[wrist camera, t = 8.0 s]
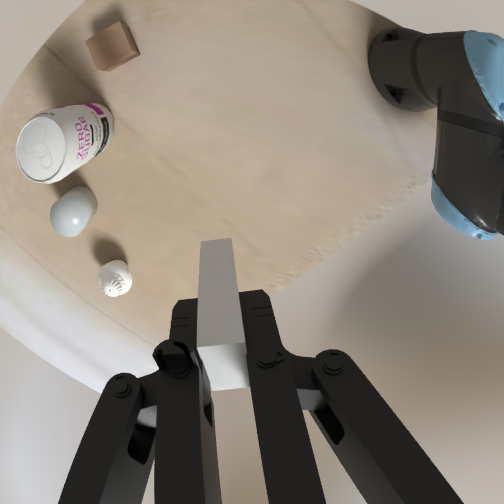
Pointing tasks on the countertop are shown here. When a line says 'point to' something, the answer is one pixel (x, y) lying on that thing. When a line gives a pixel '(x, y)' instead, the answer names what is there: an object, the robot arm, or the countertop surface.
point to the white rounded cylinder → (73, 211)
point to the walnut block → (112, 47)
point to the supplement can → (63, 140)
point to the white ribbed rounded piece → (115, 278)
